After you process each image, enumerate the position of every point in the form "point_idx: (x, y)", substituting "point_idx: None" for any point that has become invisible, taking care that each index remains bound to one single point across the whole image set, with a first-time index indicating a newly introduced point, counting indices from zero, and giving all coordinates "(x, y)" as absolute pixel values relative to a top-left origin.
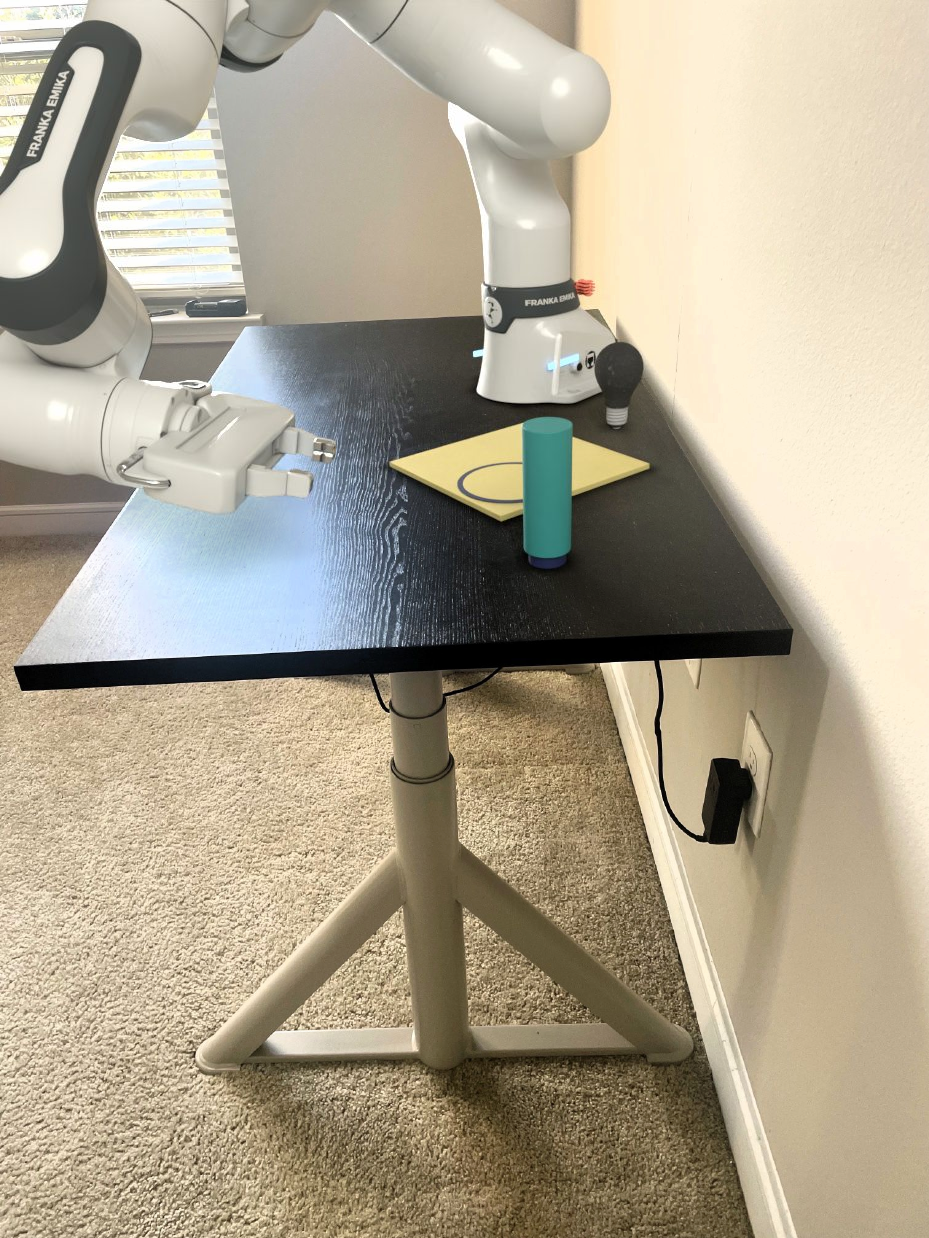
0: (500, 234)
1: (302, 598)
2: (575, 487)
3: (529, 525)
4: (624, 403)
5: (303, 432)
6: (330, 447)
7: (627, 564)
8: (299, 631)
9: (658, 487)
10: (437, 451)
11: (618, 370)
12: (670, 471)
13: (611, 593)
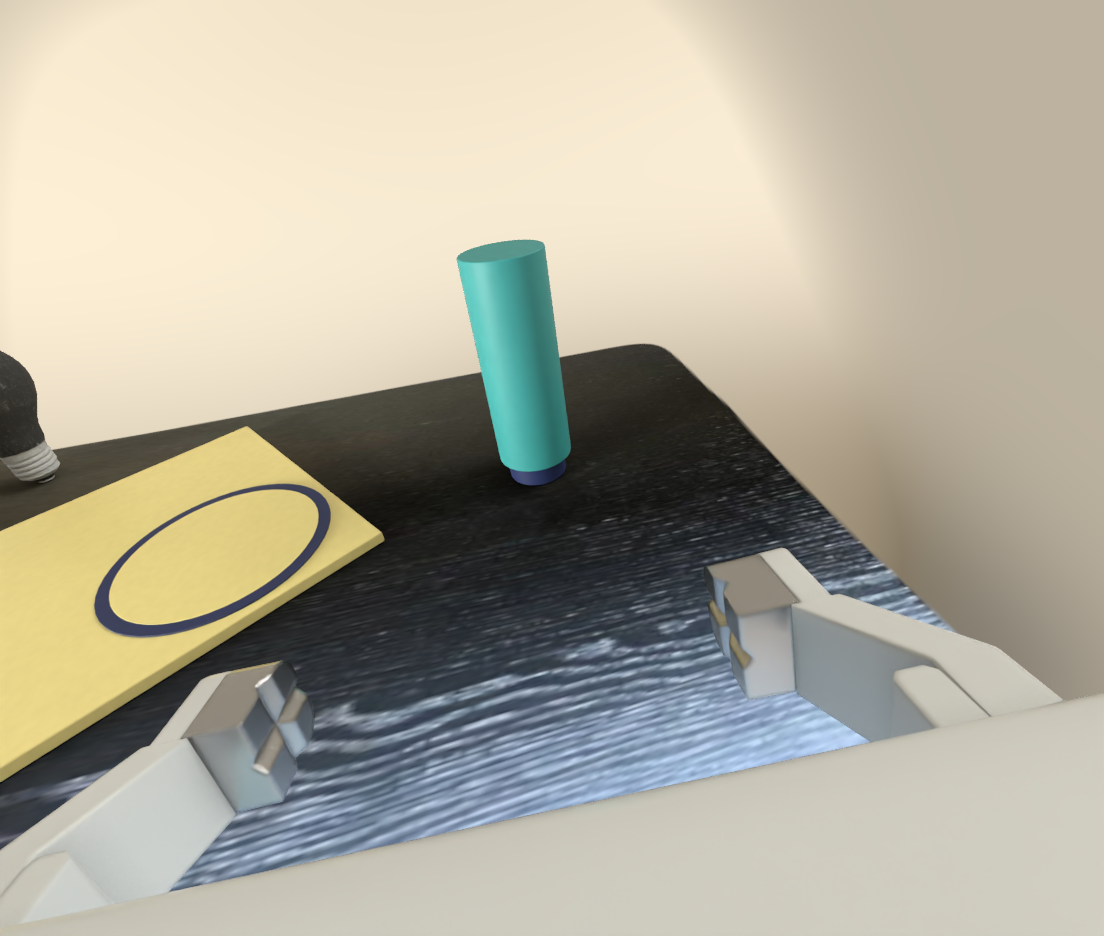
0: None
1: None
2: (295, 472)
3: (556, 417)
4: (41, 431)
5: (72, 821)
6: (286, 670)
7: None
8: None
9: (319, 420)
10: None
11: (7, 377)
12: (270, 418)
13: (621, 413)
